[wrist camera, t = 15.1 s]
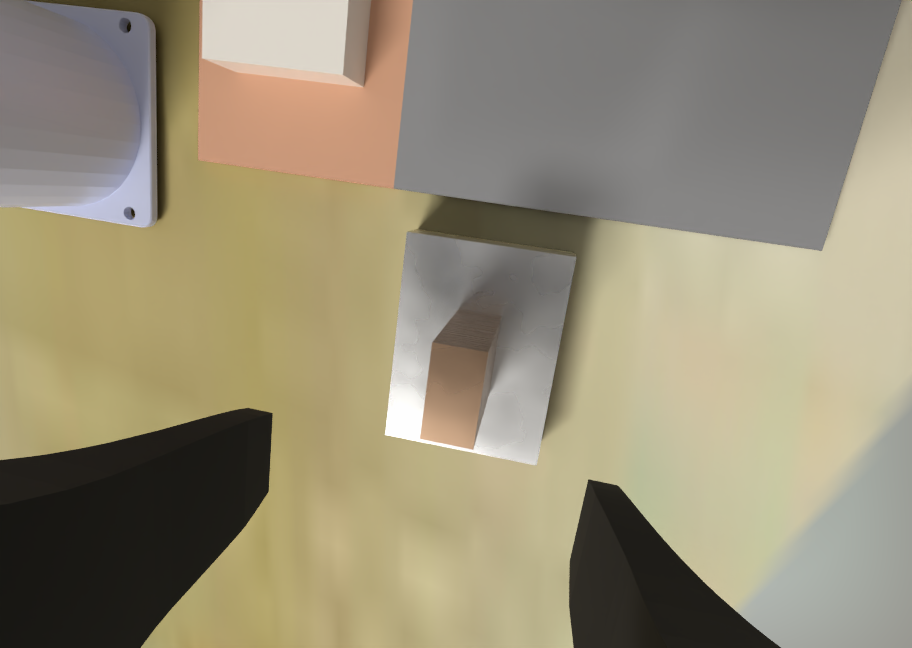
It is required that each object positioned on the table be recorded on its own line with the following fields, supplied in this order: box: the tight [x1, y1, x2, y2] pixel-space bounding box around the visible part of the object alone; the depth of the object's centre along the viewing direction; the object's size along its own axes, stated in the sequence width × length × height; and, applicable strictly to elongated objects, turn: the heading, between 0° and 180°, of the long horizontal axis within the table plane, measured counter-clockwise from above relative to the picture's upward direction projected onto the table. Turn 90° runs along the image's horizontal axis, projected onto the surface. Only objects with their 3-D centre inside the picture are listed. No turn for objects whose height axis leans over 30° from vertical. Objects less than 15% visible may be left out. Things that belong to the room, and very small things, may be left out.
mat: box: [198, 0, 902, 251], centre depth 18 cm, size 23×12×1 cm, turn 82°
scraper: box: [385, 229, 576, 465], centre depth 18 cm, size 6×8×6 cm
